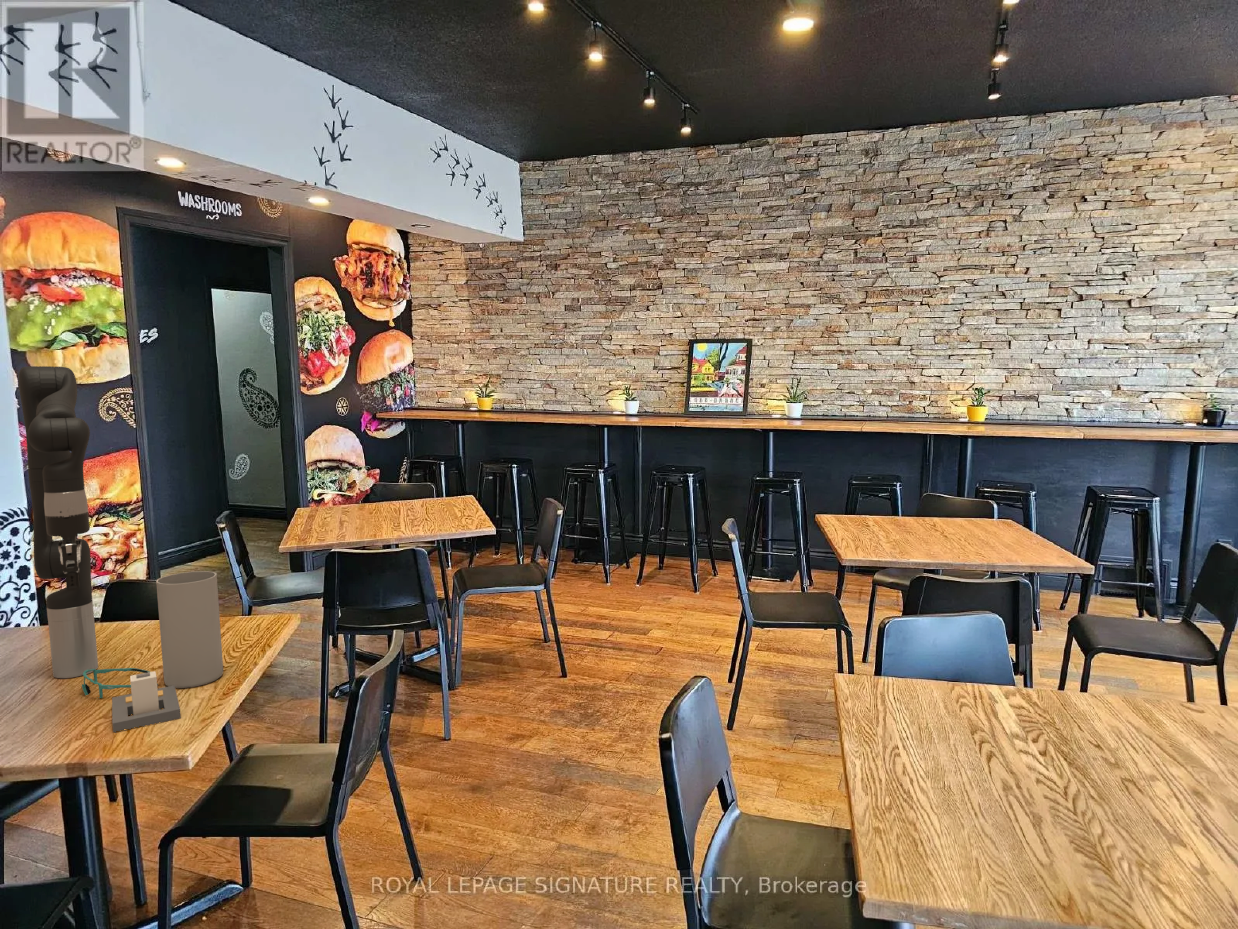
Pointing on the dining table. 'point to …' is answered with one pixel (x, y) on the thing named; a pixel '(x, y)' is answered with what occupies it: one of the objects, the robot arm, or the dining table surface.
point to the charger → (144, 693)
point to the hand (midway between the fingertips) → (73, 585)
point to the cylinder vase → (190, 628)
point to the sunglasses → (87, 689)
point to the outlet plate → (125, 707)
